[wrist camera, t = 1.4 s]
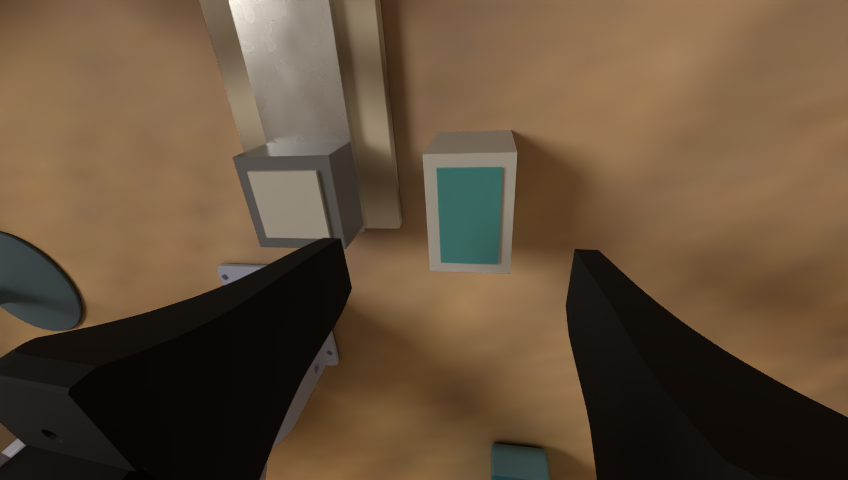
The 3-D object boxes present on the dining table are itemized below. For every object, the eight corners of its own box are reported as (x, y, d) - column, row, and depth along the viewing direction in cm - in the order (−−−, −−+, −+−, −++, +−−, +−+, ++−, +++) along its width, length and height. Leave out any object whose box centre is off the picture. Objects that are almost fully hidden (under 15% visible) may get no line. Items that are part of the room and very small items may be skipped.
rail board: (402, 222, 22) (398, 228, 22) (274, 220, 24) (266, 226, 23) (358, -220, 14) (349, -238, 13) (162, -177, 15) (142, -191, 14)
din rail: (367, 228, 22) (364, 232, 21) (294, 227, 23) (289, 231, 22) (299, -226, 13) (291, -238, 13) (184, -200, 14) (172, -210, 14)
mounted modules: (363, 225, 21) (344, 251, 18) (287, 224, 22) (258, 248, 19) (294, -217, 13) (240, -292, 10) (177, -192, 14) (98, -253, 11)
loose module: (506, 229, 22) (510, 275, 17) (441, 228, 22) (429, 272, 18) (511, 129, 19) (517, 153, 14) (437, 132, 20) (422, 155, 15)
